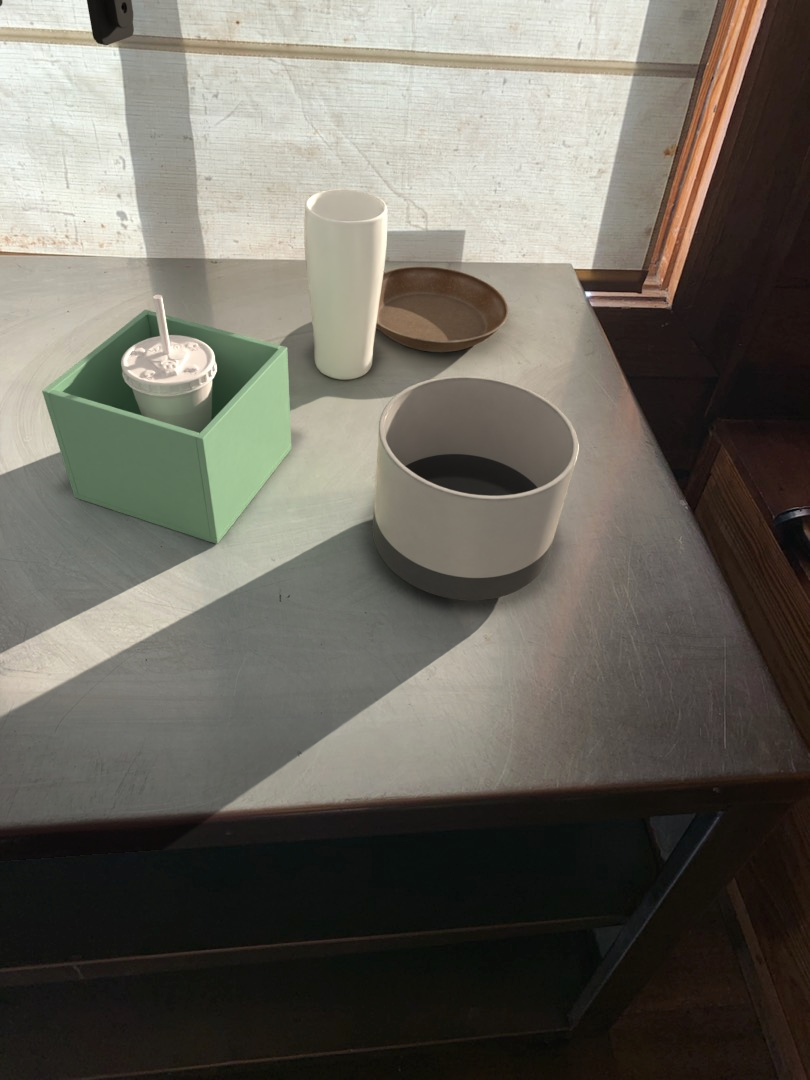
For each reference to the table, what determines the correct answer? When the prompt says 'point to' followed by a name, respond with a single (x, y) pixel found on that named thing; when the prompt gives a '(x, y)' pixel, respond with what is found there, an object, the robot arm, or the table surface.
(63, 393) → the bin
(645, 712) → the table surface
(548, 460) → the planter
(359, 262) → the white cup
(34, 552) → the table surface
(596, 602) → the table surface
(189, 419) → the smoothie
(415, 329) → the saucer
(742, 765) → the table surface
